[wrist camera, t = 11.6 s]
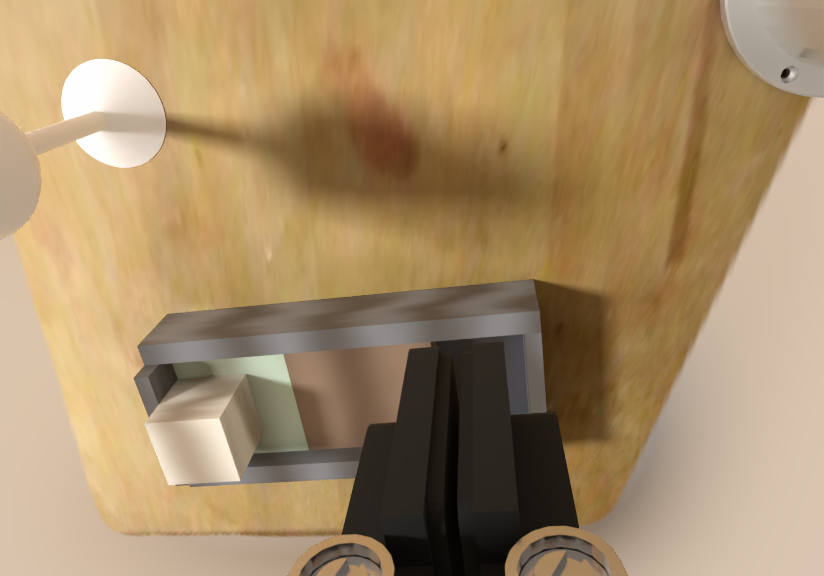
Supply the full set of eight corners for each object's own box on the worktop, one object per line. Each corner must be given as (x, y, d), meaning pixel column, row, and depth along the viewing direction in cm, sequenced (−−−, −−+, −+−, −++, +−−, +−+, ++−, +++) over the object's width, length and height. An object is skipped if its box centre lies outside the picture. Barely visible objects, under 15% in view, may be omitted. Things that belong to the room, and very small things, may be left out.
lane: (533, 279, 42) (542, 322, 36) (543, 425, 47) (552, 483, 41) (167, 314, 45) (125, 358, 40) (213, 446, 50) (181, 501, 45)
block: (245, 373, 43) (219, 418, 39) (263, 432, 45) (240, 481, 41) (177, 379, 44) (144, 423, 39) (198, 436, 46) (168, 485, 41)
